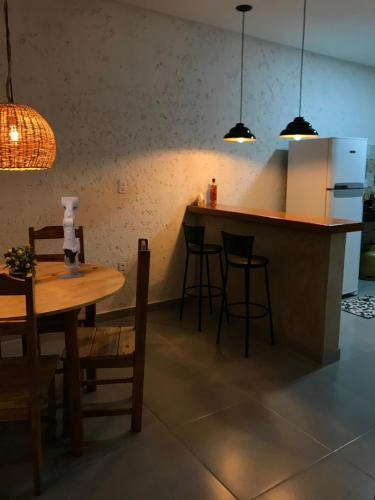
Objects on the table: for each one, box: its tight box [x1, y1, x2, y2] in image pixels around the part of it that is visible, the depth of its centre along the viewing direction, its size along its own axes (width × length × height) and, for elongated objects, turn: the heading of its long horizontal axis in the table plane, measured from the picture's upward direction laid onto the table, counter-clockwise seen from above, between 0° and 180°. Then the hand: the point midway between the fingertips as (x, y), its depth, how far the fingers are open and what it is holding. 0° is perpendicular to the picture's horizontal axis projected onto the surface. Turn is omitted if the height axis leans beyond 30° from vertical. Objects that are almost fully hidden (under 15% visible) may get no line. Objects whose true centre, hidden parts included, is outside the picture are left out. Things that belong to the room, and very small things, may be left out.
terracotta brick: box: [67, 266, 79, 274], centre depth 241 cm, size 5×5×4 cm
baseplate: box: [58, 272, 84, 280], centre depth 234 cm, size 7×12×1 cm, turn 125°
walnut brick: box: [64, 257, 76, 266], centre depth 232 cm, size 5×5×4 cm
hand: (70, 262), depth 232 cm, fingers closed on walnut brick, 5 cm apart
